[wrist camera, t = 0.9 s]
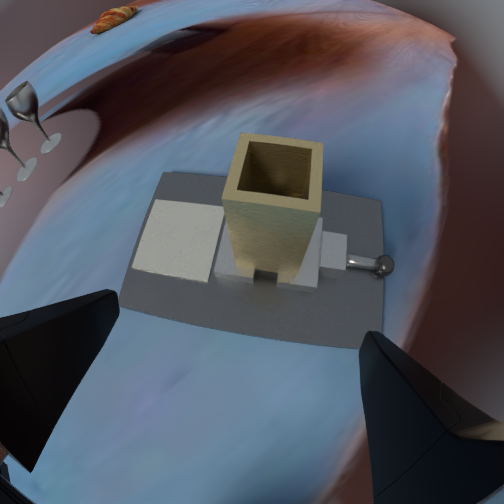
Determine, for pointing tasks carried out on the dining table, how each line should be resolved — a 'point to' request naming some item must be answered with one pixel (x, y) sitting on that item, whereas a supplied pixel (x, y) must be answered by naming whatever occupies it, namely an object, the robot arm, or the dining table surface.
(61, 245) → the dining table surface
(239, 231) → the sleeve
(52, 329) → the robot arm
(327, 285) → the grey base plate
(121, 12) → the croissant
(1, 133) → the goblet set
